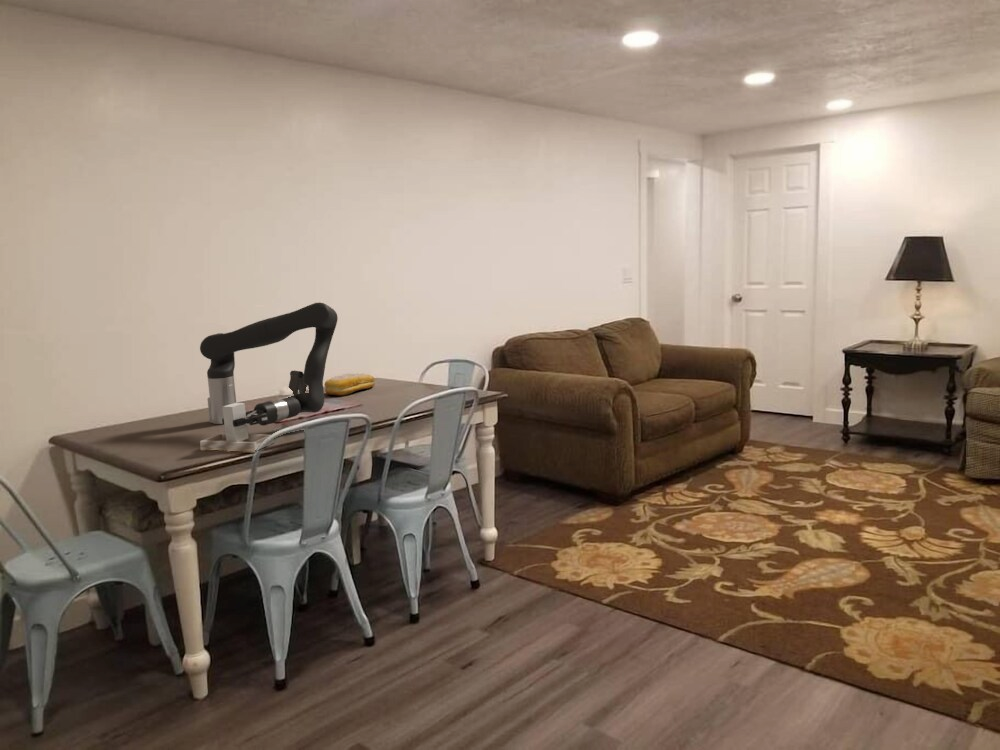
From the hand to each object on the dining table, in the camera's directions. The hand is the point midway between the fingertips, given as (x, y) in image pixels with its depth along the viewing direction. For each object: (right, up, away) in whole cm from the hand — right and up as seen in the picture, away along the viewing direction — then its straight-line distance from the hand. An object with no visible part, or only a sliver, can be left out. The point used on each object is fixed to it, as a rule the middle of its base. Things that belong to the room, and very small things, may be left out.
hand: (228, 422), depth 240 cm
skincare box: (+2, -6, +3) cm, 7 cm away
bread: (+20, +8, +95) cm, 98 cm away
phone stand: (0, +5, +84) cm, 84 cm away
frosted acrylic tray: (+2, -8, +3) cm, 9 cm away
